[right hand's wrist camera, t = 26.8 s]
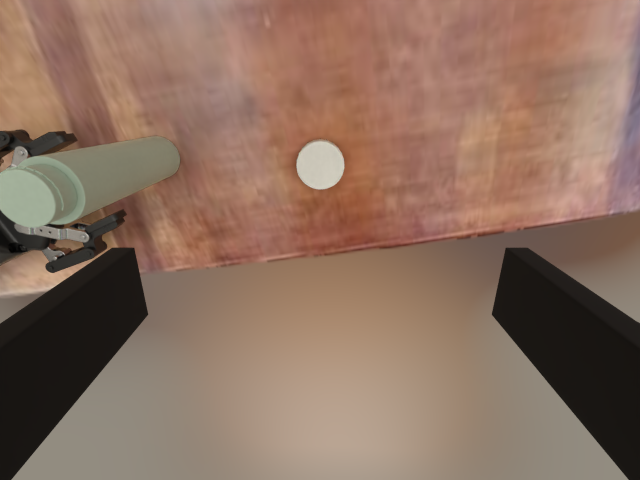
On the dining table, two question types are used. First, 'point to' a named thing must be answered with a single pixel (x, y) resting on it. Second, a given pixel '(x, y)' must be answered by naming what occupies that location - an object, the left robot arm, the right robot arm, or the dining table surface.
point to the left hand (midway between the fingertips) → (96, 176)
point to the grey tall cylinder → (83, 180)
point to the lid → (320, 164)
